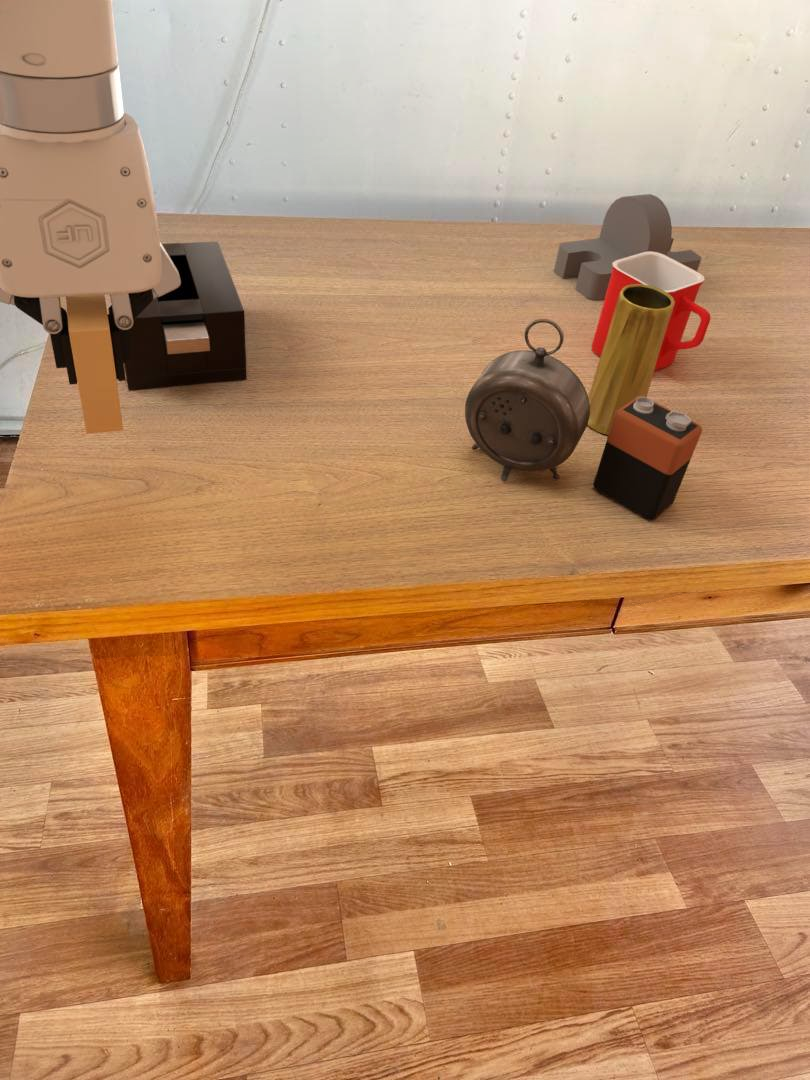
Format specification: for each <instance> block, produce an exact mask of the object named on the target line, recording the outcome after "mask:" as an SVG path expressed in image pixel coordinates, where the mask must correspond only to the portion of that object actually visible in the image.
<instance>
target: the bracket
mask: <svg viewBox="0 0 810 1080" xmlns="http://www.w3.org/2000/svg"><path fill="white" fill-rule="evenodd" d="M671 220H672V219H671V215H670V213H669V210H668V208H667V206H666V204H665V203H664V202H663V200H662V199H660V198H659V197H658V196H656V195H654V194H651V193H647V194H646V193H645V194H635V195H625V196H621V197H619V198H617V199H615V200H614V201H613V202H612V203H611V204H610V206H609V207H608V209H607V211H606V213H605V216H604V218H603V222H602V226H601V229H600V233H599V237H596V238H587V239H580V240H572V241H565V242H564V241H563V242H560V243H559V245H558V250H557V254H556V259H555V263H554V267H553V272H554V273H555V274H556V275H557V276H558V277H560V278H561V279H570V278H576V277H577V280H576V285H575V290H576V291H577V292H579V293H580V294H581V295H582V296H584V297H585V298H586V299H587V300H592V301H600V300H601V301H602V300H605V296H606V293H607V289H608V285H609V282H610V278H611V274H612V263H613V262H614V261H616V260H619V259H623V258H626V257H629V256H633V255H636V254H639V253H643V252H649V251H651V252H658V253H661V254H663V255H666V256H668V257H670V258H671V259H673V260H675V261H677V262H679V263H681V264H683V265H685V266H687V267H689V268H691V269H693V270H695V271H697V272H698V269H699V267H700V264H701V262H702V256H701V255H700V254H698V253H697V252H695V251H693V250H692V249H686V250H679V251H671V249H672V247H673V243H674V240H675V239H674V238H673V237H672V235H673V234H672V232H673V227H672V221H671Z"/></svg>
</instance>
